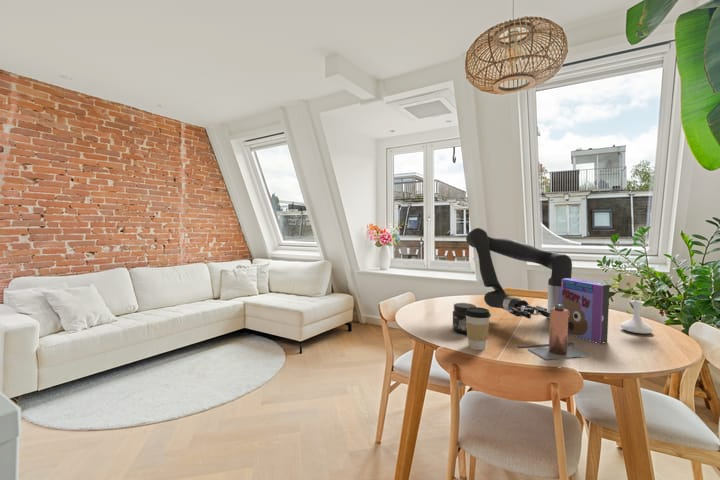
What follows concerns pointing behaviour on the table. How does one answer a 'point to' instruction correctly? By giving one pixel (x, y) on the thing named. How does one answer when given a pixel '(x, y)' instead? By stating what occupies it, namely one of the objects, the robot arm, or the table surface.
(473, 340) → the coffee cup
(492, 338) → the table surface
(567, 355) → the felt mat
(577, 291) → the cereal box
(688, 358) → the table surface
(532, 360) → the table surface
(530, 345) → the tape line
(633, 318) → the flower in vase
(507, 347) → the table surface
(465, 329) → the supplement container
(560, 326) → the water bottle
